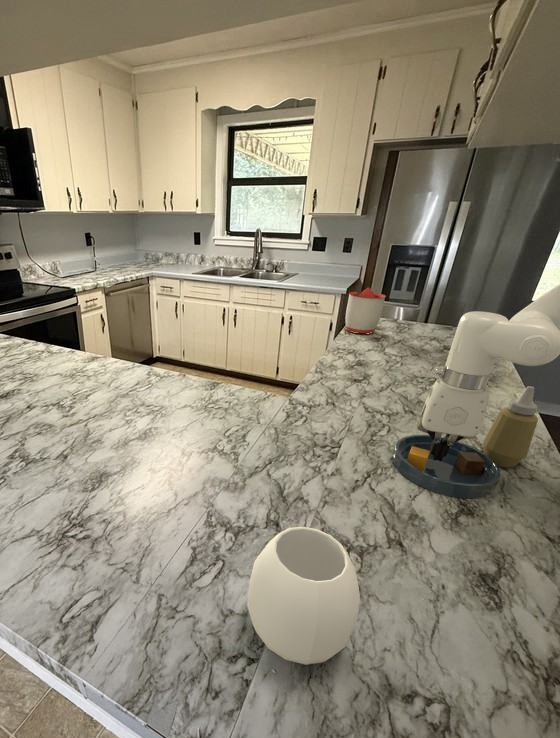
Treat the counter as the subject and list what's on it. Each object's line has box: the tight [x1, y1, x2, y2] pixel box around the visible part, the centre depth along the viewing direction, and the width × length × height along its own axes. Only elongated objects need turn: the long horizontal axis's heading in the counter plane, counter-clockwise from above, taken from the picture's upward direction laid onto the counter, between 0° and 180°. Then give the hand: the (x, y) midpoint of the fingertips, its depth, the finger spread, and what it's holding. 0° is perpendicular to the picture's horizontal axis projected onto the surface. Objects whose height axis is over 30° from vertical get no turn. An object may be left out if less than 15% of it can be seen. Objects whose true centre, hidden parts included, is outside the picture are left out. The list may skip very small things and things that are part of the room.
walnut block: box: [454, 452, 485, 475], centre depth 83 cm, size 4×4×4 cm
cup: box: [247, 526, 361, 666], centre depth 49 cm, size 13×13×14 cm
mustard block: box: [407, 446, 430, 471], centre depth 84 cm, size 4×4×4 cm
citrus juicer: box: [345, 287, 387, 333], centre depth 181 cm, size 16×17×20 cm
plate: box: [391, 434, 501, 499], centre depth 84 cm, size 19×19×4 cm
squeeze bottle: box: [482, 385, 539, 468], centre depth 84 cm, size 8×8×18 cm
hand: (436, 457), depth 85 cm, fingers closed
